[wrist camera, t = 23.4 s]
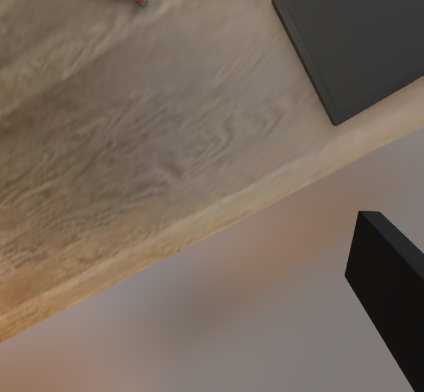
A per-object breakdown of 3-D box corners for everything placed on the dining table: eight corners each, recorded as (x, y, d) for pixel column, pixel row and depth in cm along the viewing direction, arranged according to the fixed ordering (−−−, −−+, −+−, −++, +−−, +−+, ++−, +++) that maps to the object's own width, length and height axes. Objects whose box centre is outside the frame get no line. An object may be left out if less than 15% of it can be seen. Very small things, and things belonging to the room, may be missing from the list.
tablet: (332, 124, 47) (335, 126, 46) (271, 1, 42) (272, -1, 41) (509, 22, 43) (518, 21, 42) (464, -128, 38) (473, -134, 37)
